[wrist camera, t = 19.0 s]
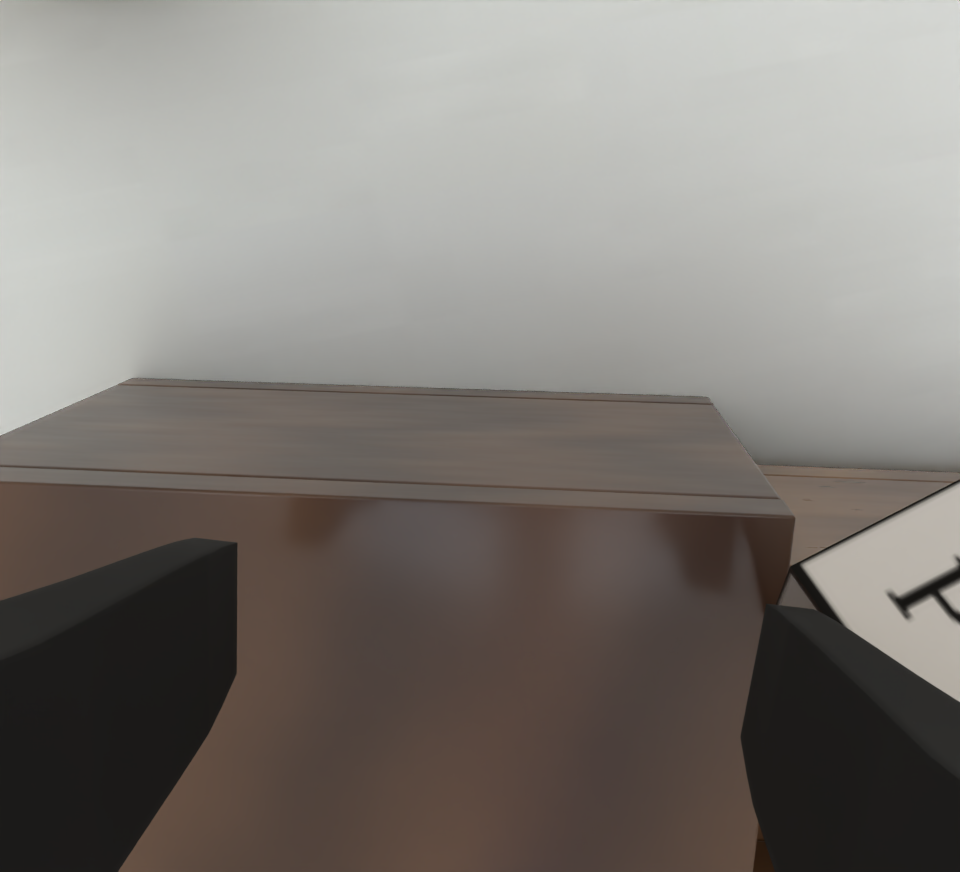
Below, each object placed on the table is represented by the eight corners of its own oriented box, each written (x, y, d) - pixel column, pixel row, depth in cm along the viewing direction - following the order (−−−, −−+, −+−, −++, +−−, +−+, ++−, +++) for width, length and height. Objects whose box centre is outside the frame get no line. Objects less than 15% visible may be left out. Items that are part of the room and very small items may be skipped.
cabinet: (709, 396, 21) (796, 516, 13) (670, 845, 25) (720, 1147, 17) (130, 377, 22) (-101, 477, 14) (173, 808, 26) (6, 1073, 18)
